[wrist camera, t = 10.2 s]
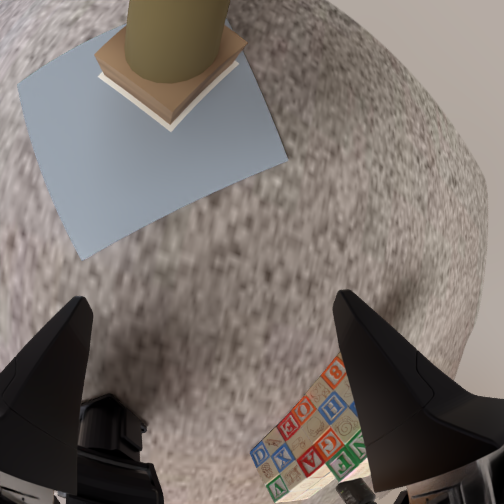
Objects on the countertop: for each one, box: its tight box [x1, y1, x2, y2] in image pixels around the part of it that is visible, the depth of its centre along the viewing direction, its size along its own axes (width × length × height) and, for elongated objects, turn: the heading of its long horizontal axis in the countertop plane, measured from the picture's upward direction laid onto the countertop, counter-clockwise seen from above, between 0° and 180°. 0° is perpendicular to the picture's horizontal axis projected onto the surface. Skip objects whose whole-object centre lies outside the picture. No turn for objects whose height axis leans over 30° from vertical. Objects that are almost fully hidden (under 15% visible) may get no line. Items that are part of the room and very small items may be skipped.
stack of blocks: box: [250, 352, 371, 503], centre depth 25 cm, size 21×6×12 cm, turn 144°
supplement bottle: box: [336, 478, 377, 504], centre depth 41 cm, size 7×7×12 cm
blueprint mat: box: [17, 18, 288, 261], centre depth 17 cm, size 18×16×1 cm
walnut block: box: [94, 25, 248, 125], centre depth 14 cm, size 7×7×4 cm
